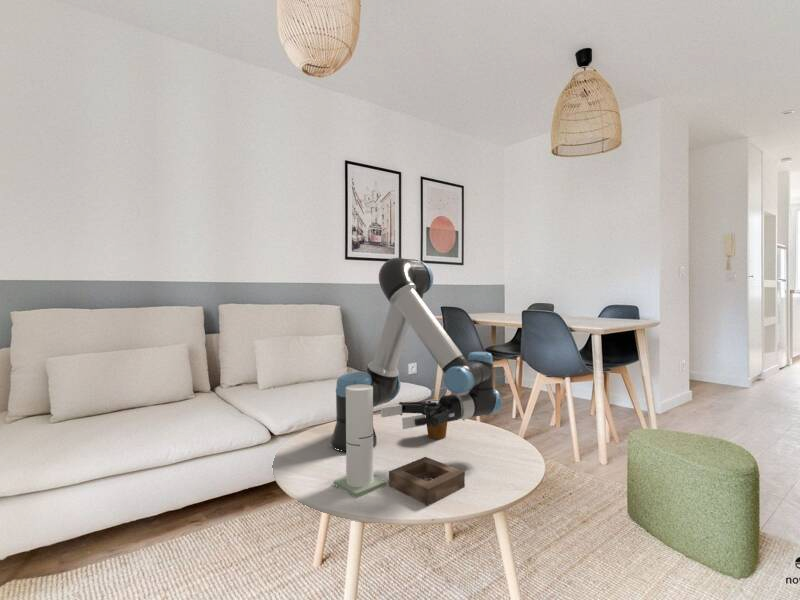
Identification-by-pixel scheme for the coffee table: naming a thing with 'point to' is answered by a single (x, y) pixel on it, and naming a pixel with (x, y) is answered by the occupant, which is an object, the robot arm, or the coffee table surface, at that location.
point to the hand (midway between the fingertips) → (391, 417)
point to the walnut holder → (421, 490)
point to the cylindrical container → (359, 435)
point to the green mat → (360, 490)
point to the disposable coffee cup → (437, 428)
